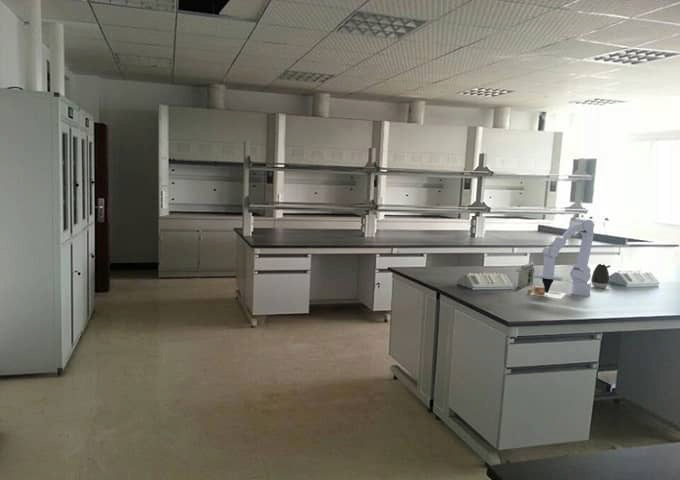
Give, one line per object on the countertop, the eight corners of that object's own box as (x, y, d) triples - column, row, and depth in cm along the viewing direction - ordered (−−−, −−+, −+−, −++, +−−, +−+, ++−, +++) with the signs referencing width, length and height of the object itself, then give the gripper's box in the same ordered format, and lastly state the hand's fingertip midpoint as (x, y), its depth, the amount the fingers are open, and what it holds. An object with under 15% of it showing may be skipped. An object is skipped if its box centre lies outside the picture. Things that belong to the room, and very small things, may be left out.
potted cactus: (612, 289, 325) (614, 265, 323) (595, 289, 325) (597, 264, 323) (604, 286, 335) (606, 262, 333) (587, 285, 335) (589, 262, 333)
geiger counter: (526, 265, 316) (539, 261, 336) (515, 264, 319) (528, 260, 339) (524, 288, 317) (537, 283, 337) (513, 287, 321) (527, 281, 341)
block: (544, 293, 297) (545, 286, 297) (543, 295, 293) (543, 288, 292) (535, 292, 300) (536, 285, 299) (533, 294, 295) (534, 287, 295)
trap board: (566, 295, 301) (566, 288, 301) (560, 301, 286) (561, 294, 285) (533, 291, 311) (533, 284, 310) (526, 296, 295) (526, 289, 295)
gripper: (533, 267, 293) (531, 291, 294) (561, 270, 285) (559, 295, 287) (536, 266, 299) (534, 289, 300) (563, 269, 291) (561, 293, 293)
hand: (546, 292), depth 294 cm, fingers closed
